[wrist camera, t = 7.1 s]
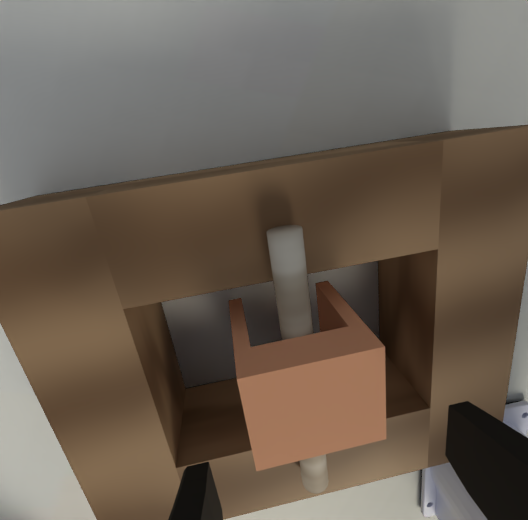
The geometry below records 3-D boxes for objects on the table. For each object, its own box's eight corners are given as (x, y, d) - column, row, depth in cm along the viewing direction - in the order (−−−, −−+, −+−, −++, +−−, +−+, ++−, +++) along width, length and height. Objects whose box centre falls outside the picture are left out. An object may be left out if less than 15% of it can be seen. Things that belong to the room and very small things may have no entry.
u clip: (333, 350, 17) (386, 439, 12) (242, 369, 16) (256, 471, 11) (327, 280, 15) (385, 346, 10) (228, 300, 15) (236, 379, 10)
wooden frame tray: (437, 384, 22) (518, 471, 16) (135, 453, 20) (102, 579, 14) (451, 130, 16) (584, 120, 10) (35, 196, 14) (-86, 227, 9)
